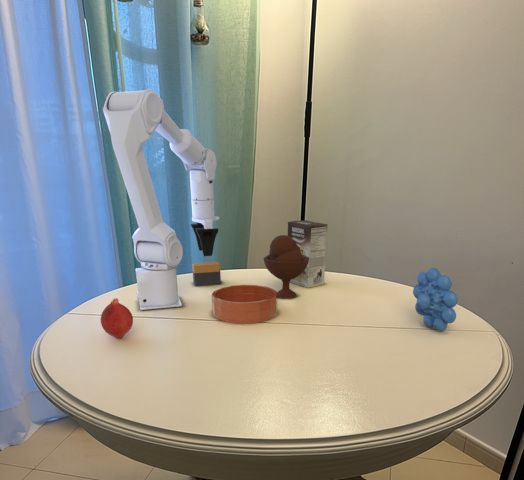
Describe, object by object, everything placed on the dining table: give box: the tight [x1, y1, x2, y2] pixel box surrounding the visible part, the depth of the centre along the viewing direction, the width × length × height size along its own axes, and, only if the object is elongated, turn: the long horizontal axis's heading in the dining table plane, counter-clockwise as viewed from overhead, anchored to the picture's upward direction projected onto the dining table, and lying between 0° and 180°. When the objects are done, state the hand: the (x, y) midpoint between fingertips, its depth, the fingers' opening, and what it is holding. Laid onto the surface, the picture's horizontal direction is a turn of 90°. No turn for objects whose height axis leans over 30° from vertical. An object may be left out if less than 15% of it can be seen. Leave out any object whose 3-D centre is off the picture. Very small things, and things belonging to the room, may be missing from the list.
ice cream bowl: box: [263, 234, 309, 300], centre depth 110 cm, size 11×11×15 cm
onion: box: [100, 297, 134, 339], centre depth 86 cm, size 6×6×8 cm
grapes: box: [412, 267, 459, 332], centre depth 90 cm, size 12×7×12 cm, turn 23°
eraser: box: [191, 261, 222, 287], centre depth 123 cm, size 7×4×6 cm, turn 106°
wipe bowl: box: [211, 284, 278, 325], centre depth 100 cm, size 14×14×4 cm
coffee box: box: [287, 220, 329, 288], centre depth 121 cm, size 9×6×16 cm
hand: (205, 252), depth 121 cm, fingers open, 7 cm apart
